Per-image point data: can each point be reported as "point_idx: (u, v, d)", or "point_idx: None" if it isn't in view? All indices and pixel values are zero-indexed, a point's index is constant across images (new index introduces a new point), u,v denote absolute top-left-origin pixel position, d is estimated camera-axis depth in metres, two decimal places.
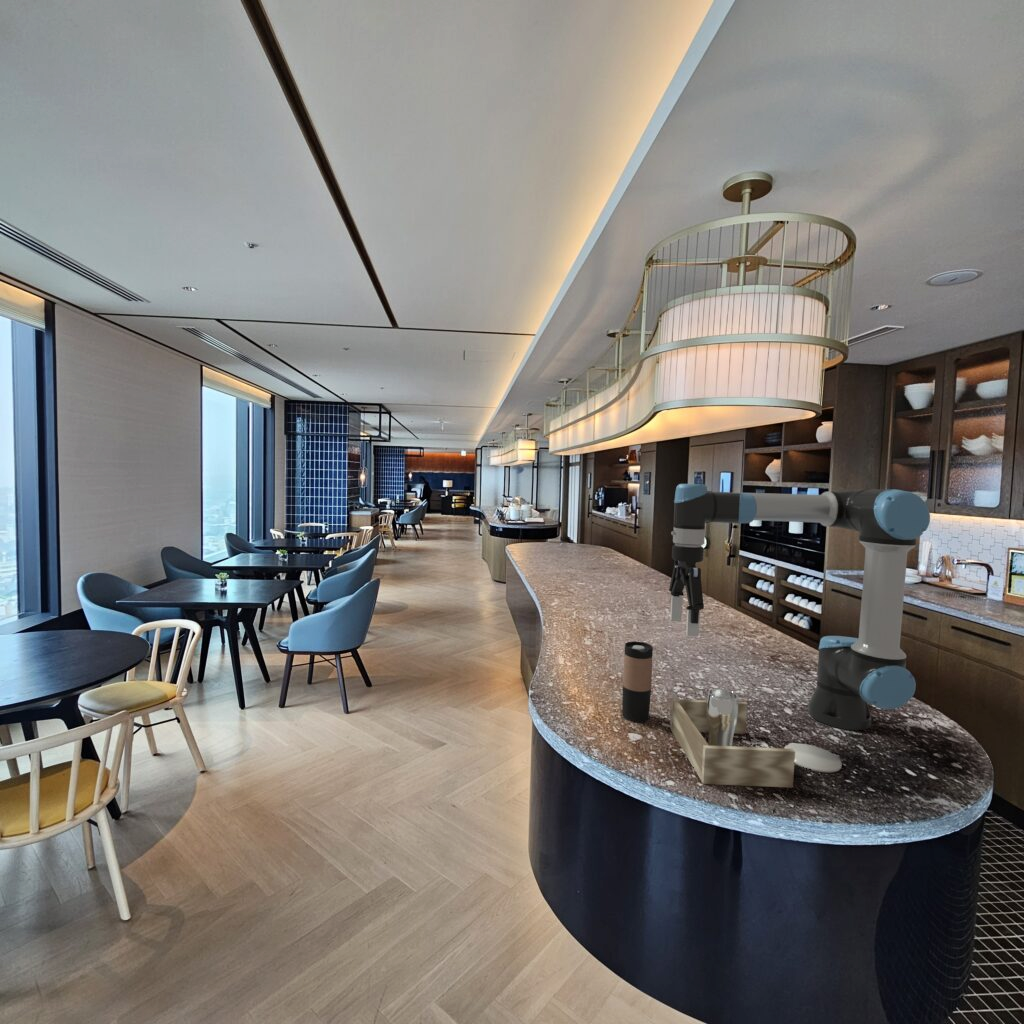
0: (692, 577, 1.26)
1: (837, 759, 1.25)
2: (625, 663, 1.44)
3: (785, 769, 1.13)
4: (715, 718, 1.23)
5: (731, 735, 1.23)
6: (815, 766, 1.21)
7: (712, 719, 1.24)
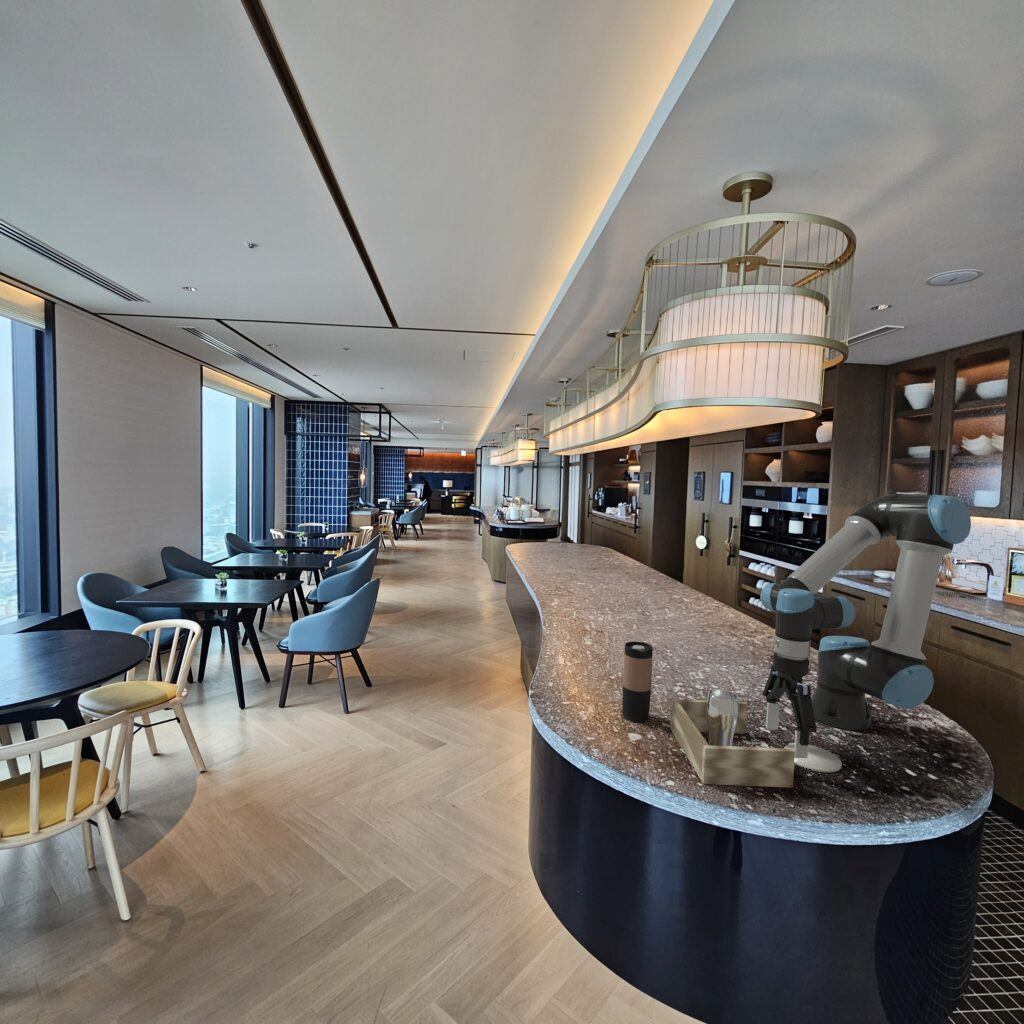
0: (801, 695, 1.18)
1: (837, 759, 1.25)
2: (625, 663, 1.44)
3: (785, 769, 1.13)
4: (715, 718, 1.23)
5: (731, 735, 1.23)
6: (815, 766, 1.21)
7: (712, 719, 1.24)
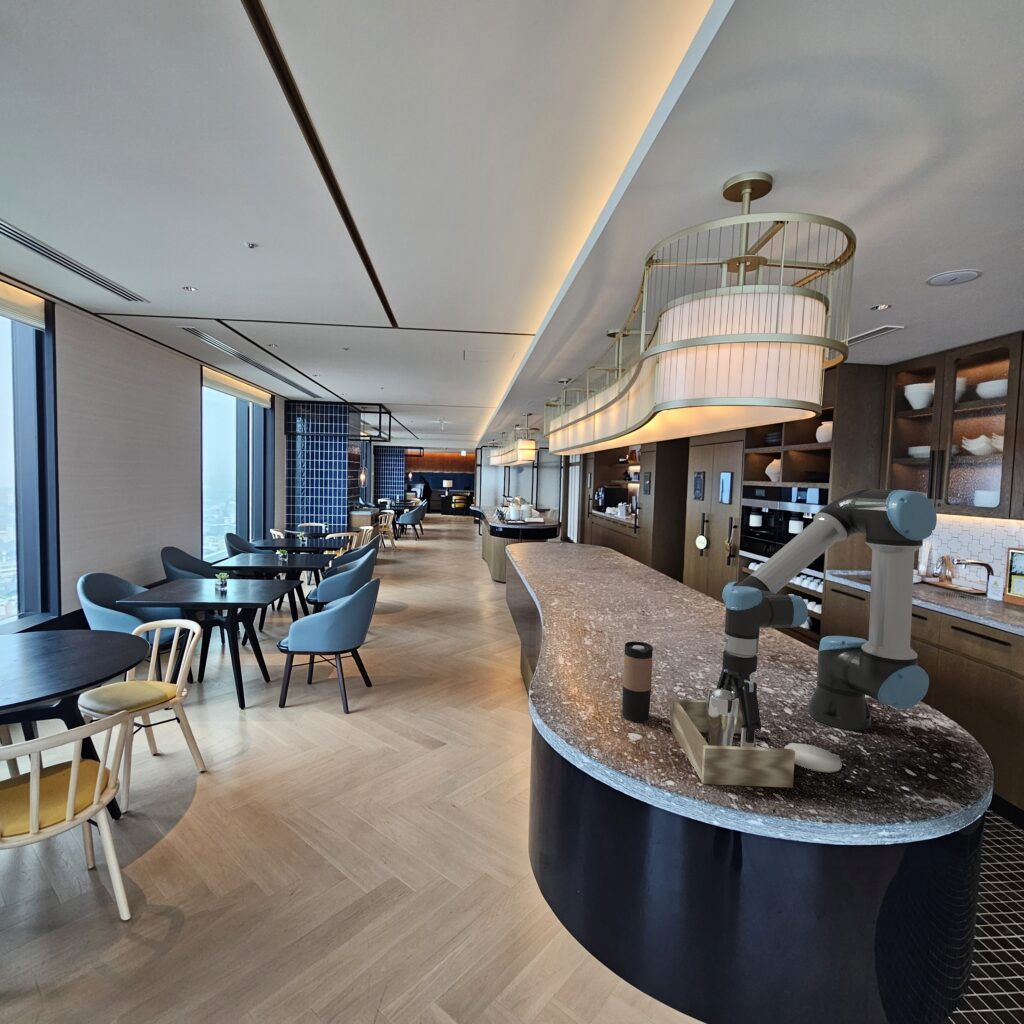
0: (747, 693, 1.18)
1: (837, 759, 1.25)
2: (625, 663, 1.44)
3: (785, 769, 1.13)
4: (715, 718, 1.23)
5: (731, 735, 1.23)
6: (815, 766, 1.21)
7: (712, 719, 1.24)
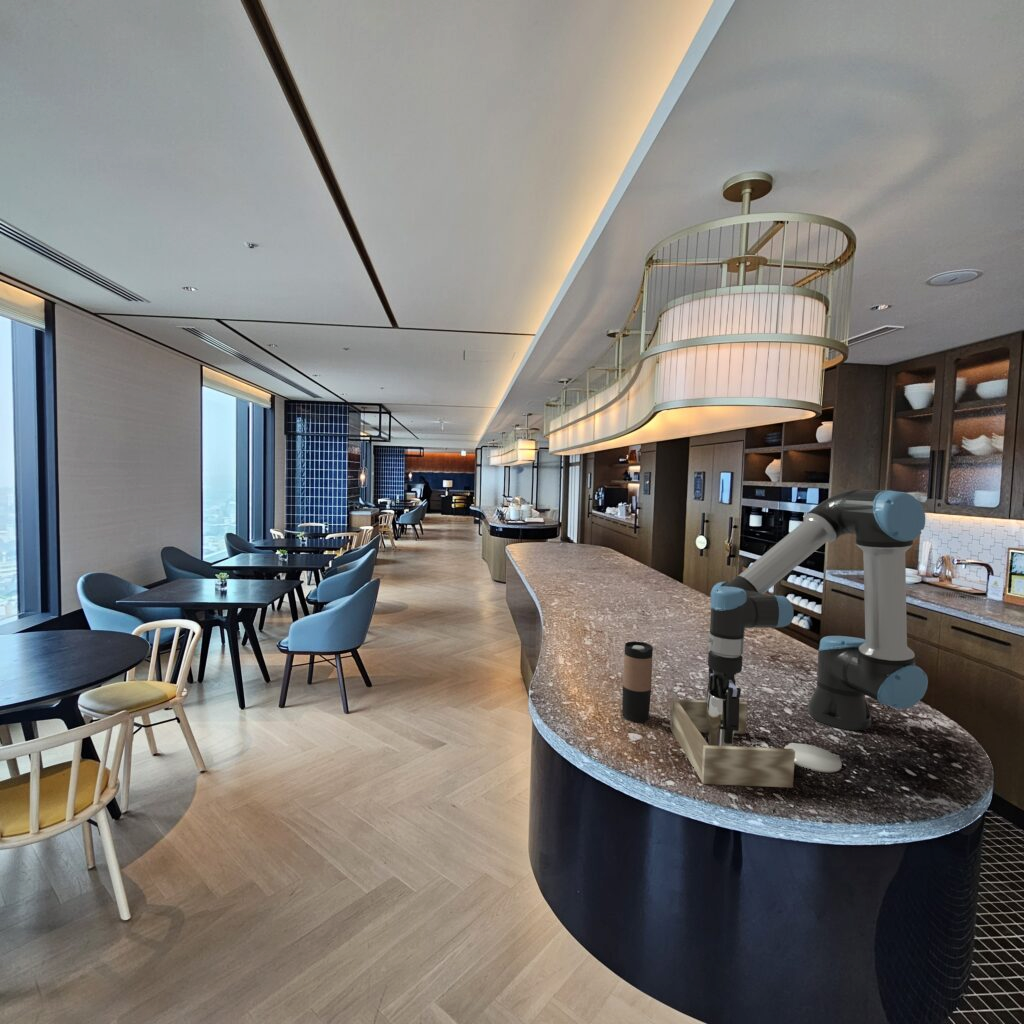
0: (730, 698, 1.19)
1: (837, 759, 1.25)
2: (625, 663, 1.44)
3: (785, 769, 1.13)
4: (715, 718, 1.23)
5: None
6: (815, 766, 1.21)
7: (712, 719, 1.24)
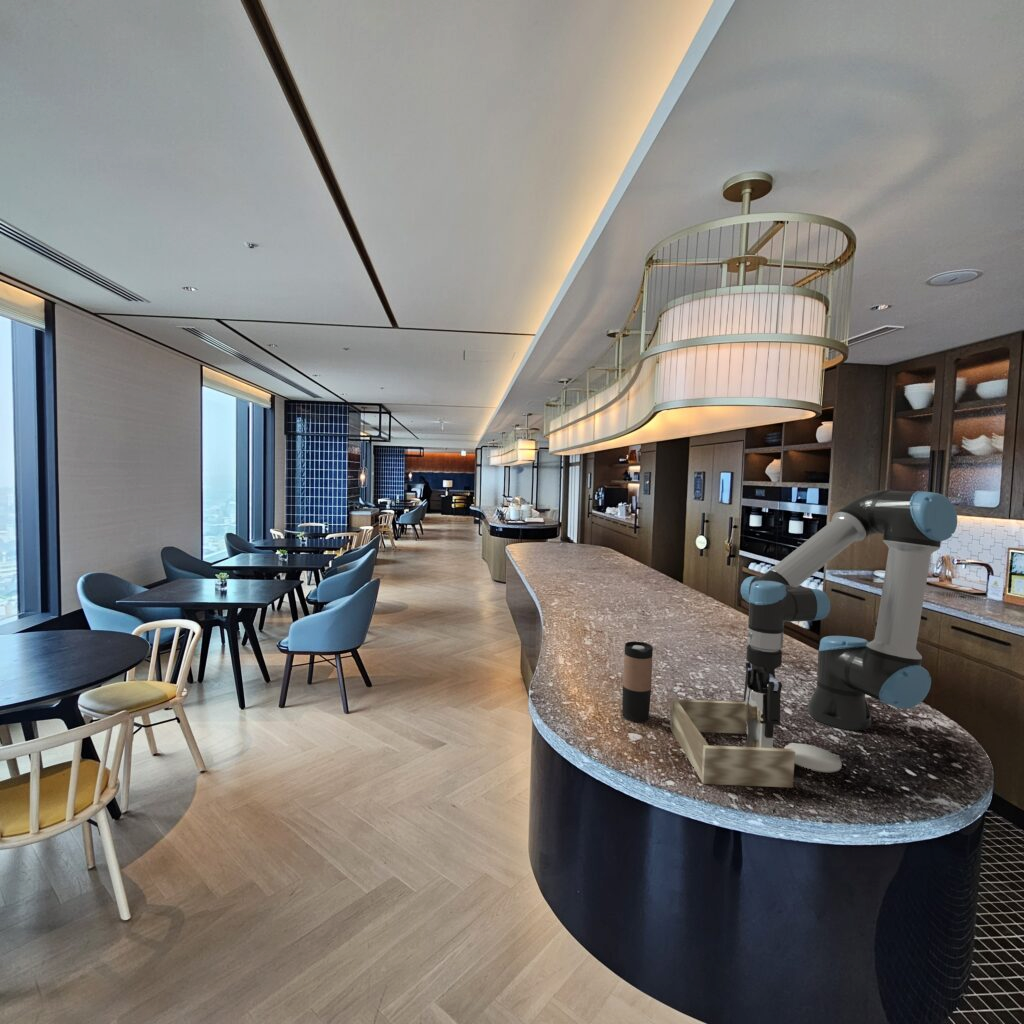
0: (771, 692, 1.19)
1: (837, 759, 1.25)
2: (625, 663, 1.44)
3: (785, 769, 1.13)
4: (755, 712, 1.23)
5: None
6: (815, 766, 1.21)
7: (752, 714, 1.24)
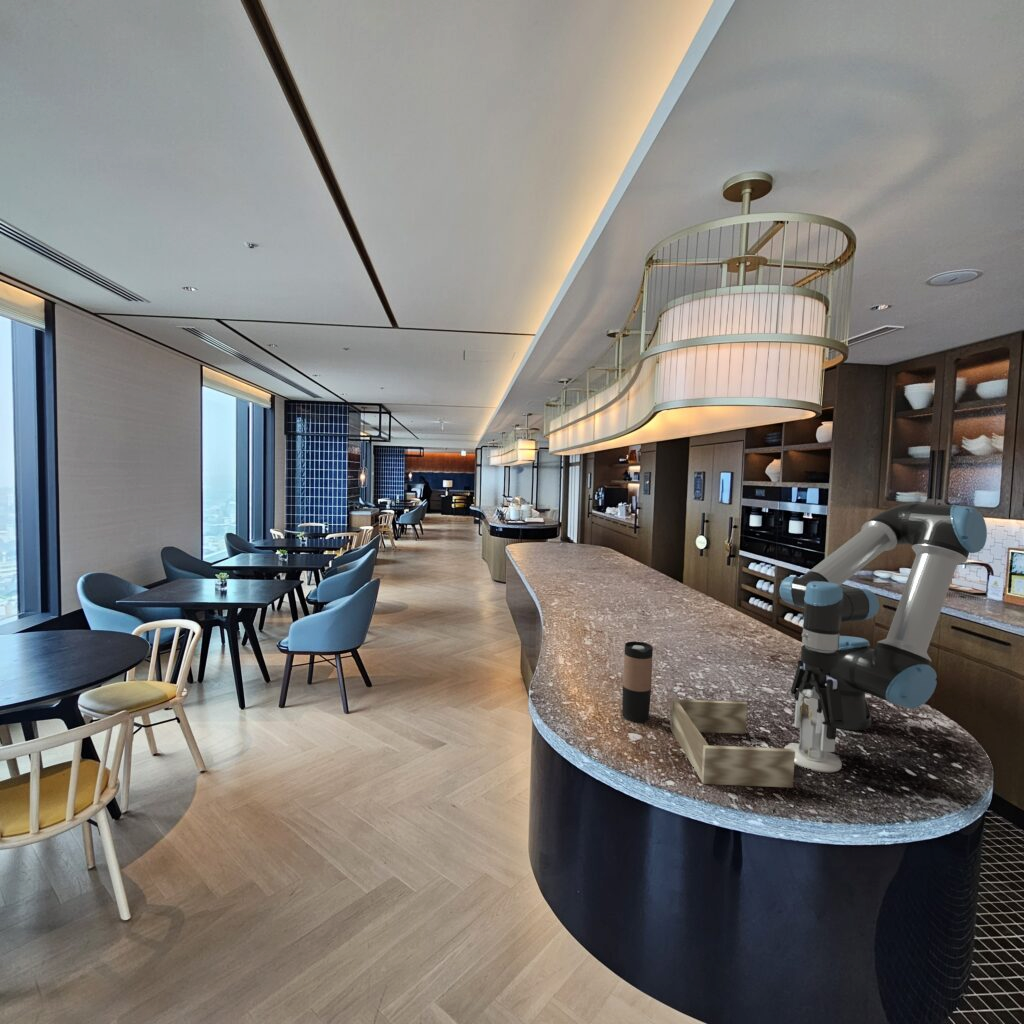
0: (831, 690, 1.18)
1: (837, 759, 1.25)
2: (625, 663, 1.44)
3: (785, 769, 1.13)
4: (809, 718, 1.23)
5: None
6: (815, 766, 1.21)
7: (805, 719, 1.24)
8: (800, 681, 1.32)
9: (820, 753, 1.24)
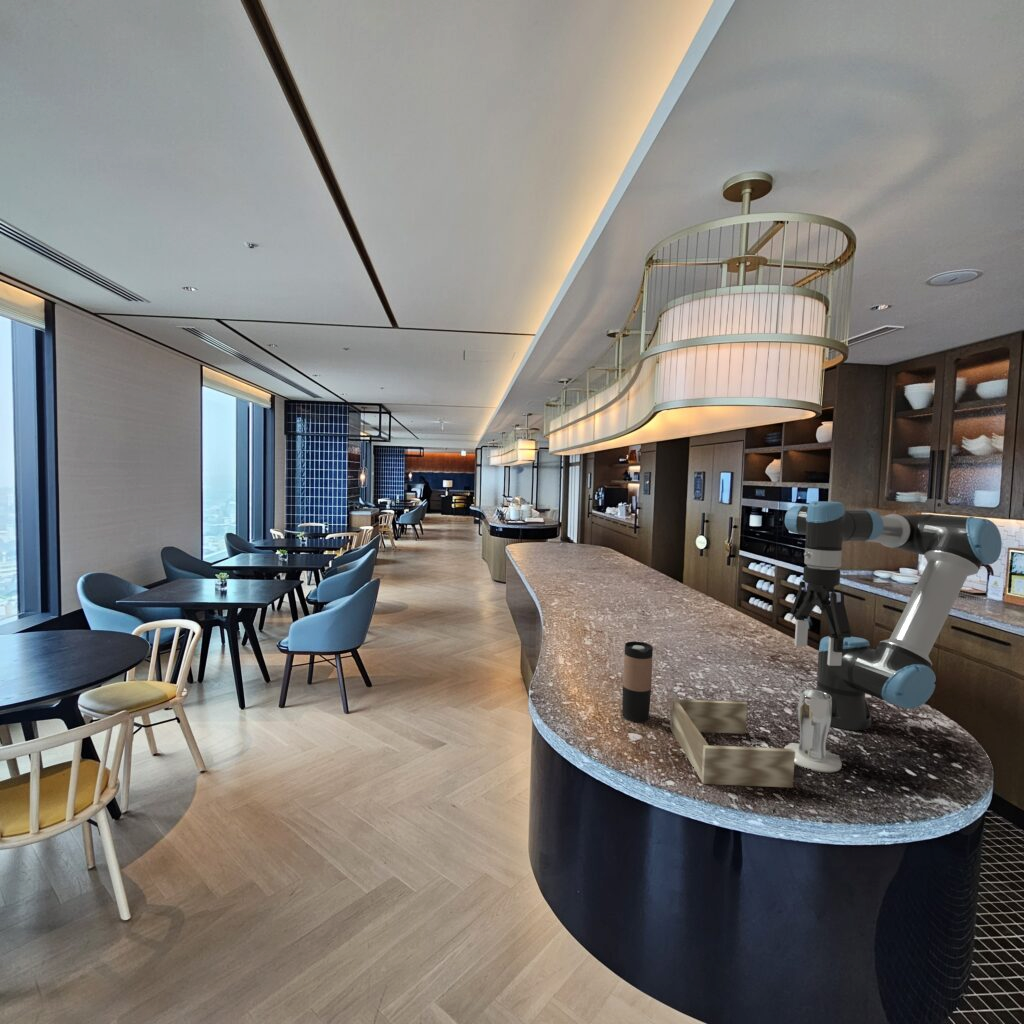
0: (835, 603, 1.18)
1: (837, 759, 1.25)
2: (625, 663, 1.44)
3: (785, 769, 1.13)
4: (809, 718, 1.23)
5: (825, 735, 1.23)
6: (815, 766, 1.21)
7: (806, 719, 1.24)
8: (801, 602, 1.32)
9: (820, 753, 1.24)
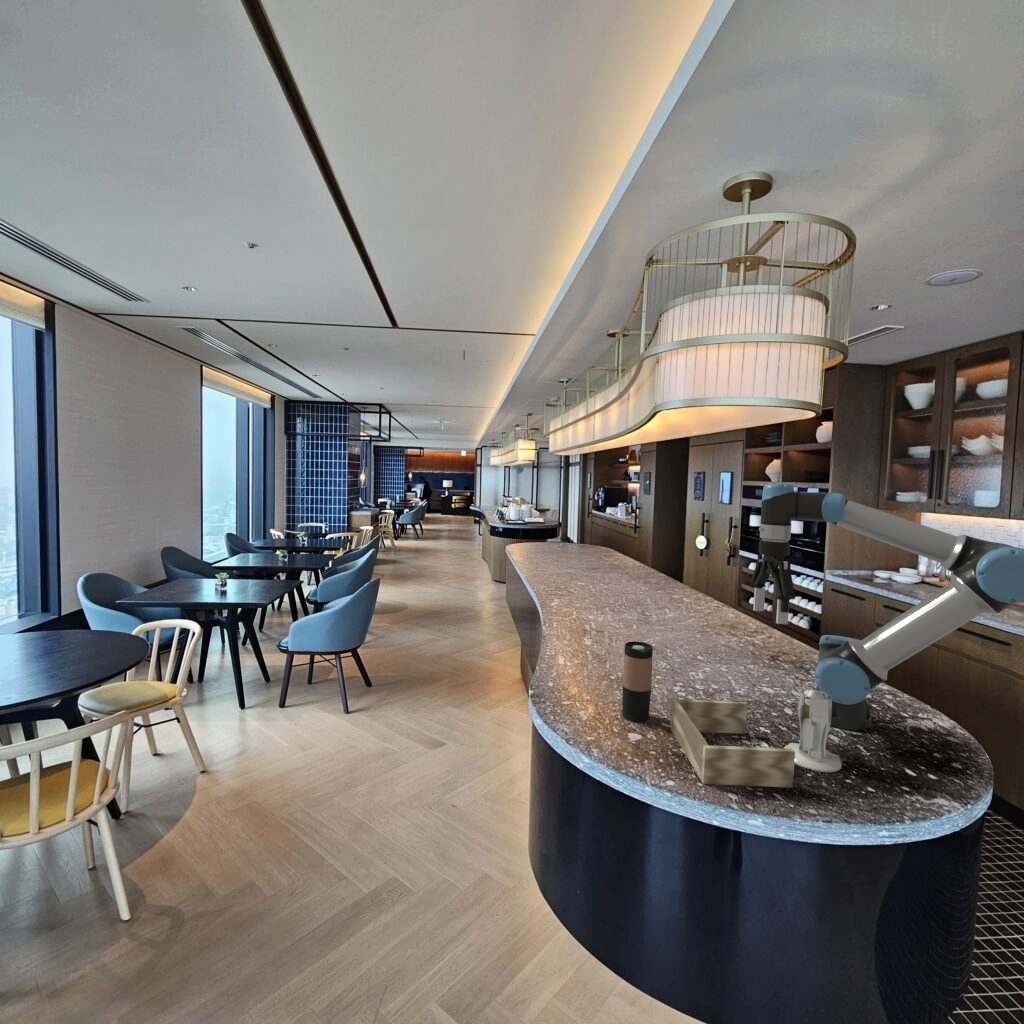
0: (782, 569, 1.37)
1: (837, 759, 1.25)
2: (625, 663, 1.44)
3: (785, 769, 1.13)
4: (810, 718, 1.23)
5: (825, 735, 1.23)
6: (815, 766, 1.21)
7: (806, 719, 1.24)
8: (759, 572, 1.52)
9: (820, 753, 1.24)
